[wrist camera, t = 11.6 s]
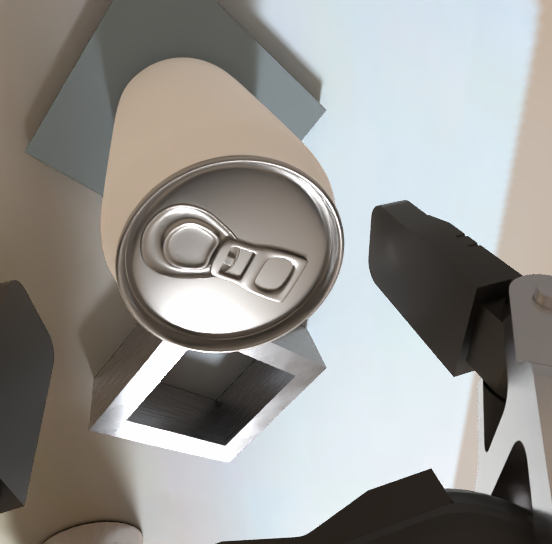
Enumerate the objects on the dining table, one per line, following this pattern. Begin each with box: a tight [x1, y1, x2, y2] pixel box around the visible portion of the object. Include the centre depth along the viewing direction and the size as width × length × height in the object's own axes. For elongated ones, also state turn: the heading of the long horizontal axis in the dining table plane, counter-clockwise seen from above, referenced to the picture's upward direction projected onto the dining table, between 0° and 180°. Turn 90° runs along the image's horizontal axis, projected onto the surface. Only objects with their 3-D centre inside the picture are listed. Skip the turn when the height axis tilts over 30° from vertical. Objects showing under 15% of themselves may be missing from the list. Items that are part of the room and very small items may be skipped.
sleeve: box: [89, 324, 326, 462], centre depth 28 cm, size 11×11×4 cm
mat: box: [25, 0, 326, 196], centre depth 20 cm, size 10×10×1 cm
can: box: [100, 57, 344, 353], centre depth 15 cm, size 6×6×12 cm
